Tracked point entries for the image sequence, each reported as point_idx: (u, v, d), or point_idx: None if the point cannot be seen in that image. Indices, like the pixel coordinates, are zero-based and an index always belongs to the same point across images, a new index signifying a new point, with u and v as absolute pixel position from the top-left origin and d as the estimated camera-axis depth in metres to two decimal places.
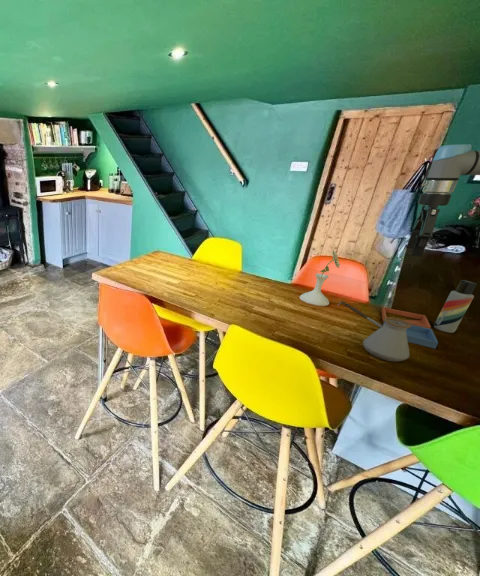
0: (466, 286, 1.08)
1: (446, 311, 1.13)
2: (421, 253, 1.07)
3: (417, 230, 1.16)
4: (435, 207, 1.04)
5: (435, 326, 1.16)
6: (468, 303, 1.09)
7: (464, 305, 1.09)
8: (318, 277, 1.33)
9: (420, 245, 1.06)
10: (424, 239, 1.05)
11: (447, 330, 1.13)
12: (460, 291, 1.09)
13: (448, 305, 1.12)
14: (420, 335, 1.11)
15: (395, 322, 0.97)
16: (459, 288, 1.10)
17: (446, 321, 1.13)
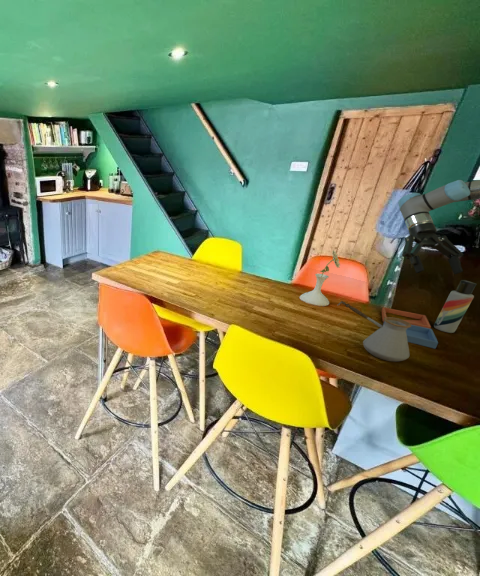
0: (466, 286, 1.08)
1: (446, 311, 1.13)
2: (420, 267, 1.18)
3: (452, 257, 1.20)
4: (415, 235, 1.25)
5: (435, 326, 1.16)
6: (468, 303, 1.09)
7: (464, 305, 1.09)
8: (318, 277, 1.33)
9: (412, 262, 1.21)
10: (410, 257, 1.21)
11: (447, 330, 1.13)
12: (460, 291, 1.09)
13: (448, 305, 1.12)
14: (420, 335, 1.11)
15: (395, 322, 0.97)
16: (459, 288, 1.10)
17: (446, 321, 1.13)
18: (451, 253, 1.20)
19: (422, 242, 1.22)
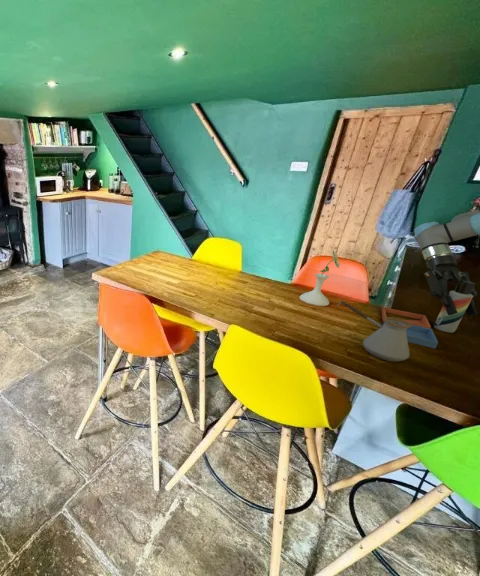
0: (465, 286, 1.08)
1: (446, 311, 1.13)
2: (453, 310, 1.09)
3: None
4: (433, 267, 1.17)
5: (435, 326, 1.16)
6: (467, 303, 1.09)
7: (463, 305, 1.09)
8: (318, 277, 1.33)
9: (443, 303, 1.12)
10: (441, 297, 1.12)
11: (447, 330, 1.13)
12: (459, 291, 1.09)
13: None
14: (420, 335, 1.11)
15: (395, 322, 0.97)
16: (458, 288, 1.09)
17: (446, 321, 1.13)
18: None
19: (445, 278, 1.14)
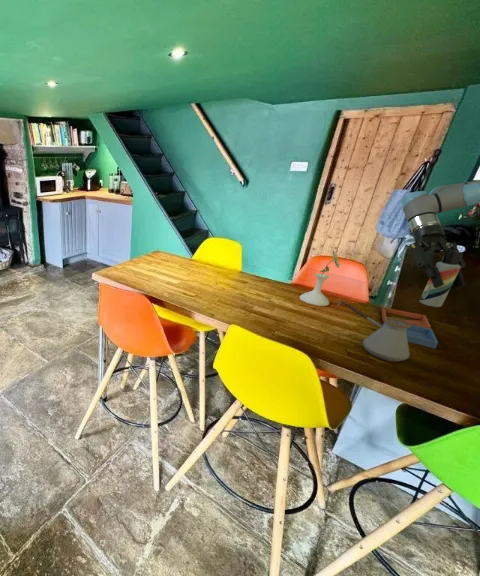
0: (452, 255, 1.00)
1: (432, 284, 1.05)
2: (439, 281, 1.02)
3: None
4: (420, 238, 1.09)
5: (421, 301, 1.09)
6: (455, 274, 1.01)
7: (450, 276, 1.02)
8: (318, 277, 1.33)
9: (429, 275, 1.05)
10: (427, 269, 1.05)
11: (433, 304, 1.06)
12: (446, 261, 1.02)
13: None
14: (420, 335, 1.11)
15: (395, 322, 0.97)
16: (445, 258, 1.02)
17: (432, 294, 1.06)
18: None
19: (432, 248, 1.06)
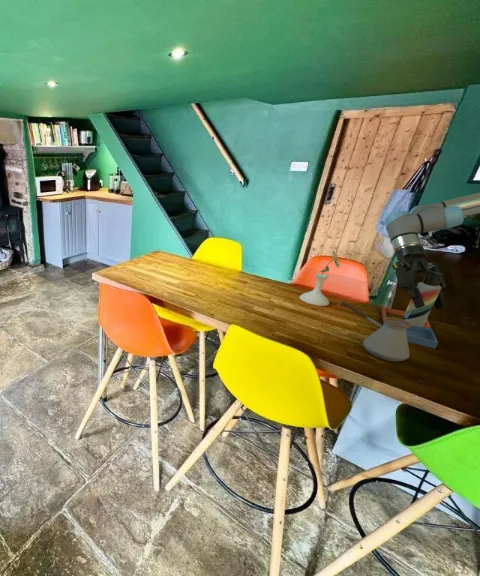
0: (432, 277, 1.02)
1: None
2: (420, 302, 1.03)
3: None
4: (402, 258, 1.11)
5: None
6: (435, 295, 1.03)
7: (431, 297, 1.03)
8: (318, 277, 1.33)
9: (411, 295, 1.06)
10: (409, 289, 1.06)
11: (415, 324, 1.07)
12: (427, 283, 1.03)
13: None
14: (420, 335, 1.11)
15: (395, 322, 0.97)
16: (426, 279, 1.03)
17: (414, 314, 1.07)
18: None
19: (413, 269, 1.08)
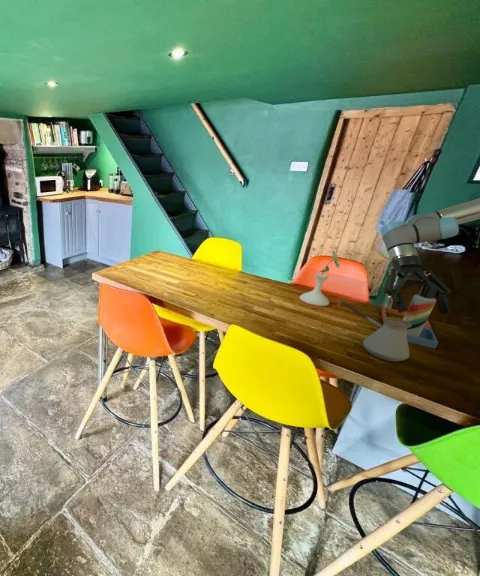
0: (428, 290, 1.03)
1: (409, 316, 1.08)
2: (403, 307, 1.06)
3: (439, 294, 1.08)
4: (398, 268, 1.12)
5: None
6: (430, 307, 1.04)
7: (426, 309, 1.05)
8: (318, 277, 1.33)
9: (394, 300, 1.08)
10: (392, 294, 1.09)
11: (410, 335, 1.09)
12: (422, 295, 1.05)
13: (411, 309, 1.08)
14: (420, 335, 1.11)
15: (395, 322, 0.97)
16: (421, 292, 1.05)
17: None
18: (438, 290, 1.07)
19: (405, 277, 1.09)
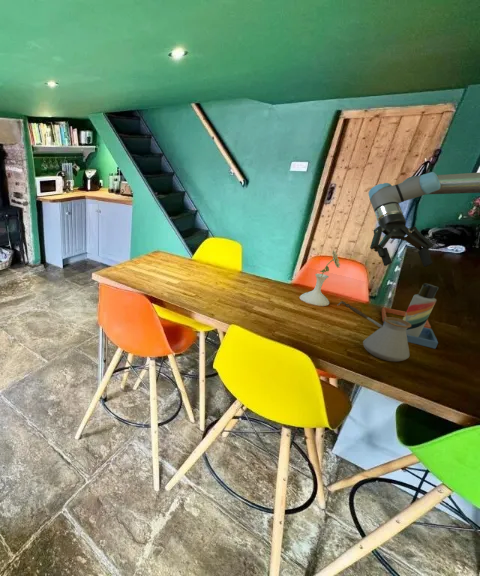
0: (428, 290, 1.03)
1: (409, 316, 1.08)
2: (388, 260, 1.13)
3: (422, 248, 1.15)
4: (384, 226, 1.19)
5: None
6: (430, 307, 1.04)
7: (426, 309, 1.05)
8: (318, 277, 1.33)
9: (380, 254, 1.15)
10: (378, 249, 1.16)
11: (410, 335, 1.09)
12: (422, 295, 1.05)
13: (411, 309, 1.08)
14: (420, 335, 1.11)
15: (395, 322, 0.97)
16: (421, 292, 1.05)
17: None
18: (421, 245, 1.14)
19: (390, 233, 1.16)
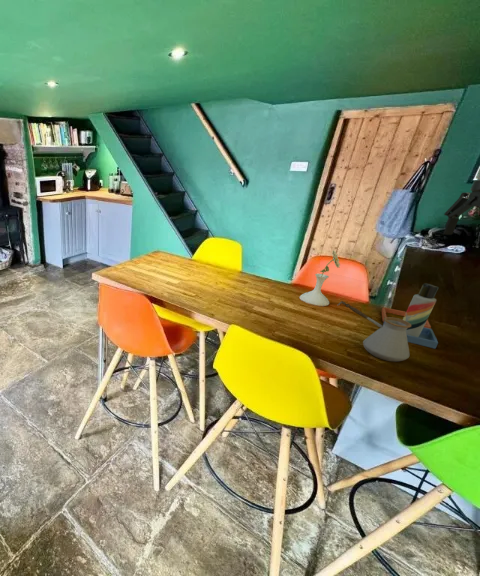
0: (428, 290, 1.03)
1: (409, 316, 1.08)
2: None
3: (453, 216, 1.20)
4: None
5: None
6: (430, 307, 1.04)
7: (426, 309, 1.05)
8: (318, 277, 1.33)
9: None
10: None
11: (410, 335, 1.09)
12: (422, 295, 1.05)
13: (411, 309, 1.08)
14: (420, 335, 1.11)
15: (395, 322, 0.97)
16: (421, 292, 1.05)
17: None
18: (460, 214, 1.19)
19: None
